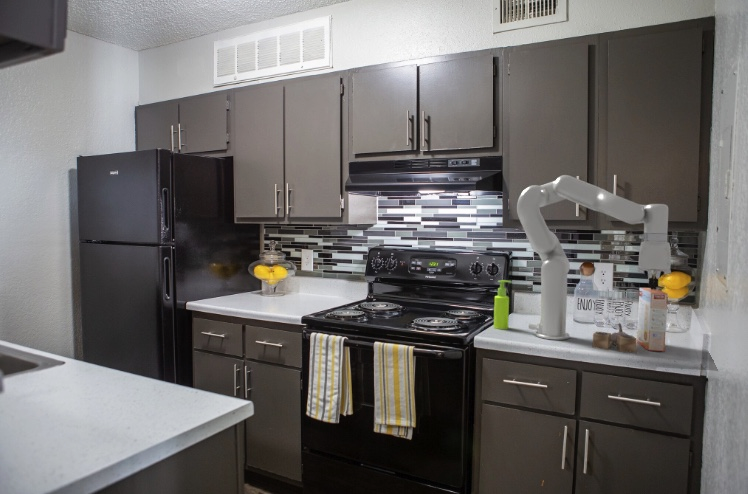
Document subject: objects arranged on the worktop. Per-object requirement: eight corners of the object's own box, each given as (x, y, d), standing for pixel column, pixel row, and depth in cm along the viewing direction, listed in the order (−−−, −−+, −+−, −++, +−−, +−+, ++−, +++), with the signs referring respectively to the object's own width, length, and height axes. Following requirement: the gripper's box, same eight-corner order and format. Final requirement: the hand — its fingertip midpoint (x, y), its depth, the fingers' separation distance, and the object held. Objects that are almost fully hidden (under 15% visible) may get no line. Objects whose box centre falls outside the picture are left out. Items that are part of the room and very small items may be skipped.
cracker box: (665, 352, 187) (668, 292, 186) (647, 351, 189) (650, 292, 187) (653, 342, 201) (656, 287, 200) (636, 341, 202) (638, 287, 201)
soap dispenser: (512, 329, 222) (514, 281, 221) (496, 329, 221) (498, 281, 220) (507, 326, 228) (508, 279, 227) (491, 326, 227) (492, 279, 226)
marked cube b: (592, 347, 193) (593, 333, 193) (595, 344, 197) (596, 330, 197) (607, 349, 190) (608, 335, 190) (610, 347, 194) (611, 332, 194)
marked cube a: (620, 352, 187) (621, 337, 187) (616, 348, 192) (617, 333, 192) (635, 352, 186) (636, 337, 186) (631, 349, 191) (631, 334, 191)
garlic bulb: (611, 346, 195) (611, 324, 195) (606, 341, 203) (607, 320, 202) (633, 347, 194) (634, 325, 193) (628, 342, 201) (629, 321, 200)
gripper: (632, 238, 192) (630, 289, 193) (680, 239, 186) (677, 291, 187) (632, 237, 199) (630, 286, 200) (678, 238, 193) (675, 289, 194)
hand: (653, 289), depth 194 cm, fingers closed
